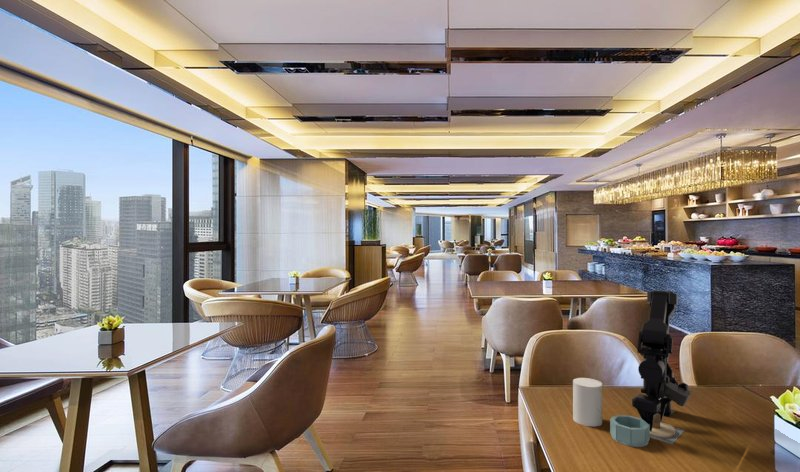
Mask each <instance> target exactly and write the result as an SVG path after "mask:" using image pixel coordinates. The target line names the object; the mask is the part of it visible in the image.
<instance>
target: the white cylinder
mask: <svg viewBox="0 0 800 472" xmlns="http://www.w3.org/2000/svg"><path fill="white" fill-rule="evenodd" d="M572 419H573V421H574V422H575V423H577V424H579V425H581V426H586V427H600V426H602V424H603V383H602V382H601V381H600V380H596V379H593V378H588V377H577V378H574V379H572Z"/></svg>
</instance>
